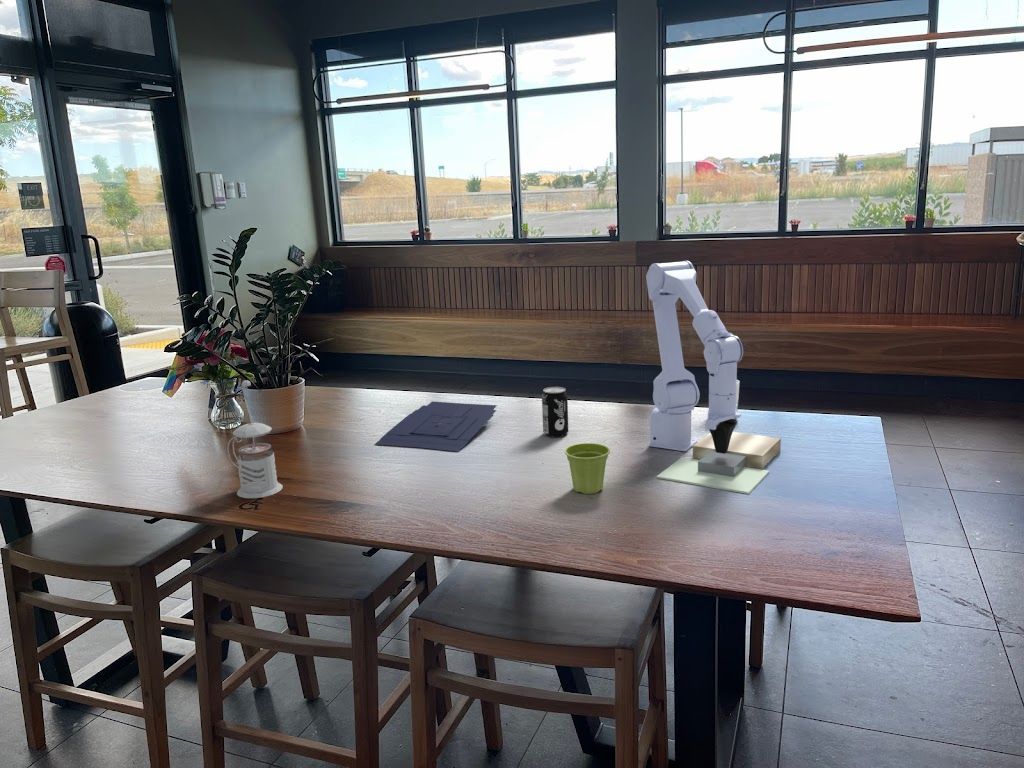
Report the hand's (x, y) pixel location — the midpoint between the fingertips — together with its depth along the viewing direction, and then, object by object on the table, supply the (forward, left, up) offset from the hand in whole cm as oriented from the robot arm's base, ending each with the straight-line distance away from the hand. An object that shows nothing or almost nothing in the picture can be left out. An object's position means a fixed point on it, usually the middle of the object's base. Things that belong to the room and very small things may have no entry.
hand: (721, 452), depth 171 cm
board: (0, +11, -4) cm, 11 cm away
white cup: (-13, +39, -4) cm, 41 cm away
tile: (+1, -1, -3) cm, 4 cm away
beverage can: (-46, +6, -4) cm, 47 cm away
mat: (0, -5, -4) cm, 6 cm away
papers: (-75, -6, -4) cm, 75 cm away
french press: (-85, -58, -4) cm, 103 cm away
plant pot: (-20, -24, -4) cm, 32 cm away
